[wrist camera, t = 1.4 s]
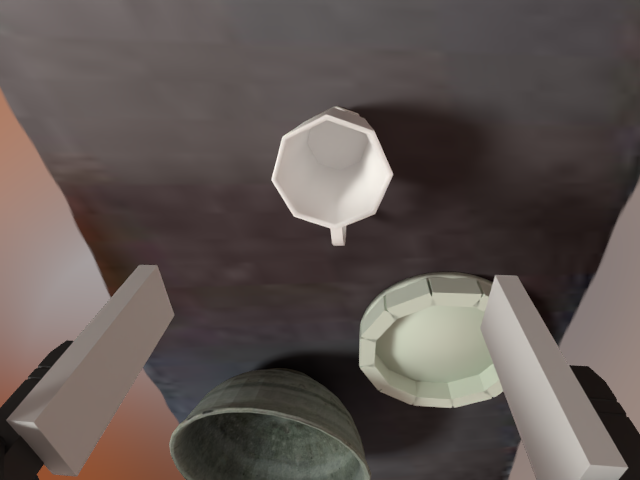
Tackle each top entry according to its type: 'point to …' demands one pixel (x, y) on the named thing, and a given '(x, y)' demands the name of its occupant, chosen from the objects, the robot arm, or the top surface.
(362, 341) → the tray
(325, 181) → the cup
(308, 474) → the bowl
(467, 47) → the top surface
